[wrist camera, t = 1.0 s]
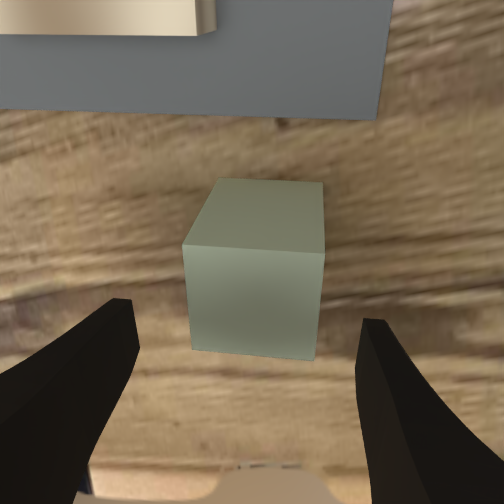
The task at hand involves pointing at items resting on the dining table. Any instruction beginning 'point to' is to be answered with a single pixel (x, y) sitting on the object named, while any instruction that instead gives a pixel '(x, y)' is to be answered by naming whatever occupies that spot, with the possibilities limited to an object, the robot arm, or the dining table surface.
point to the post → (256, 268)
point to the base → (108, 17)
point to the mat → (213, 65)
